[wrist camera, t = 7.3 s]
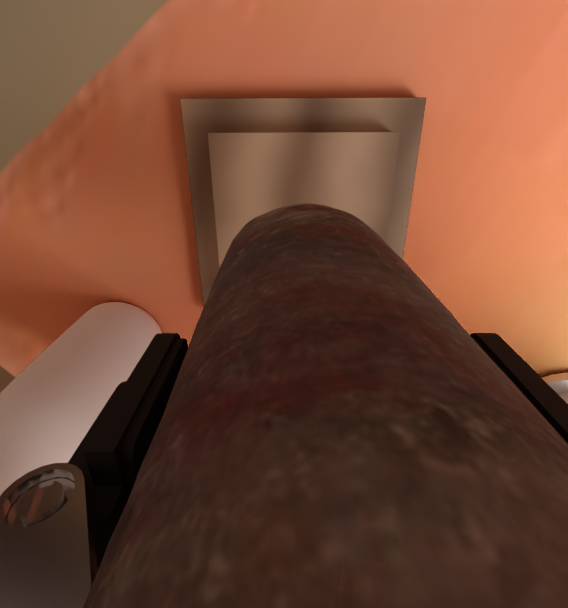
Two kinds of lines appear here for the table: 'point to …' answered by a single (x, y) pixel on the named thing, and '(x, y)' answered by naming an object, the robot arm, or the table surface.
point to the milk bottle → (69, 387)
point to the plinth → (295, 121)
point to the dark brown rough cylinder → (338, 446)
